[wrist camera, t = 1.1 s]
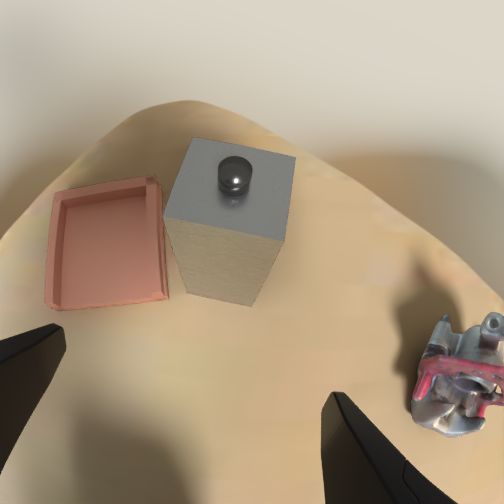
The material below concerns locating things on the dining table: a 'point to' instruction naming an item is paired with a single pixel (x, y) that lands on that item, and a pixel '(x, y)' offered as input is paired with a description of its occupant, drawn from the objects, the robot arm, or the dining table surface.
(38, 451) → the dining table surface
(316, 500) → the dining table surface
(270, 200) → the knobbed tall block
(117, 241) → the tray
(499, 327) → the brake caliper
